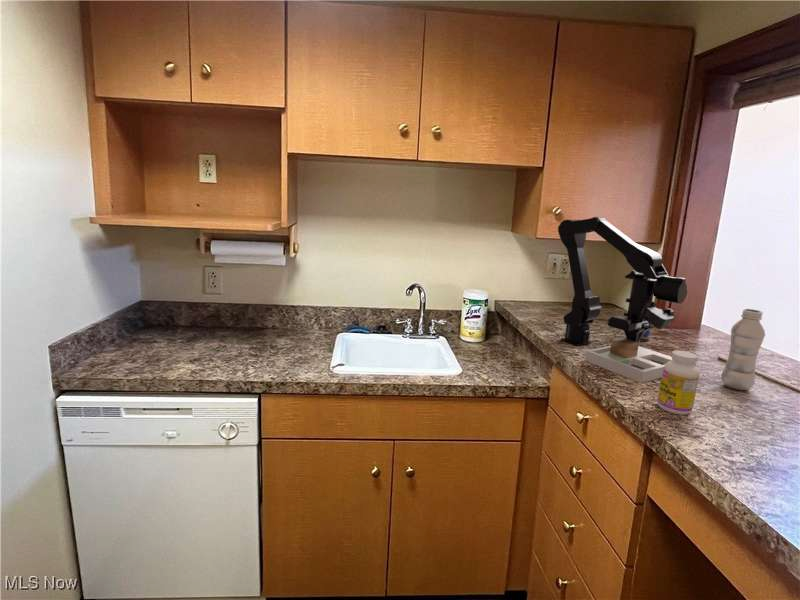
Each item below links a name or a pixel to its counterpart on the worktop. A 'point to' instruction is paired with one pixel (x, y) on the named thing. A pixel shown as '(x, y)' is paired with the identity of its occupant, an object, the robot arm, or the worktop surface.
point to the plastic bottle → (744, 351)
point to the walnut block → (624, 347)
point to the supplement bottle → (679, 383)
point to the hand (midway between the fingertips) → (632, 348)
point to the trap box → (630, 363)
